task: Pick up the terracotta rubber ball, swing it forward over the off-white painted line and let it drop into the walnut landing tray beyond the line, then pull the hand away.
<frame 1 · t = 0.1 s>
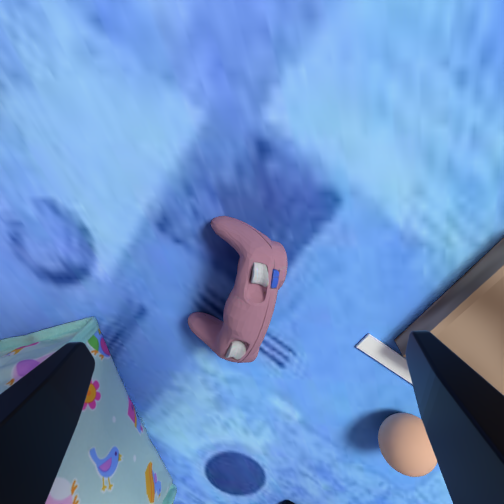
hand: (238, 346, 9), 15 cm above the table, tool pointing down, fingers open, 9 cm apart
video game controller: (238, 276, 26), on the table
lunch bag: (86, 415, 32), on the table
throw line: (436, 389, 27), on the table
ball: (398, 420, 29), on the table
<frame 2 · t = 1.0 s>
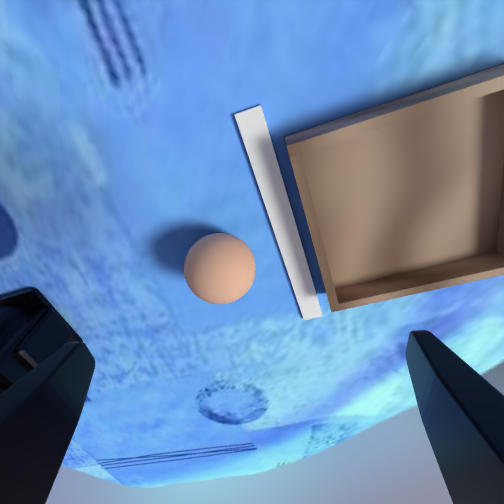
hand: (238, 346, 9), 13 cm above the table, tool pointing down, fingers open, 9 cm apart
landing tray: (403, 200, 20), on the table
throw line: (286, 232, 22), on the table
ball: (223, 249, 22), on the table
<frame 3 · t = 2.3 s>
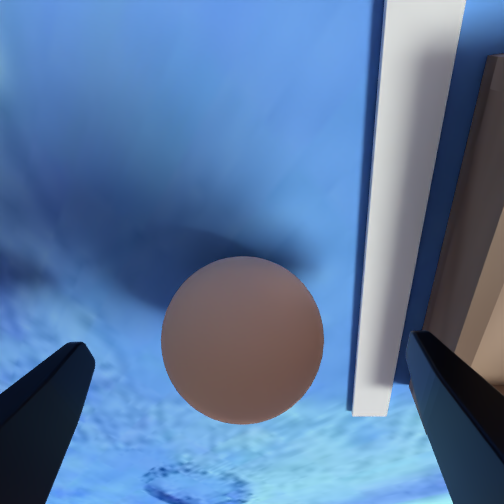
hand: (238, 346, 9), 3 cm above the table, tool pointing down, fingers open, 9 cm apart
throw line: (386, 276, 10), on the table
ball: (249, 283, 11), on the table
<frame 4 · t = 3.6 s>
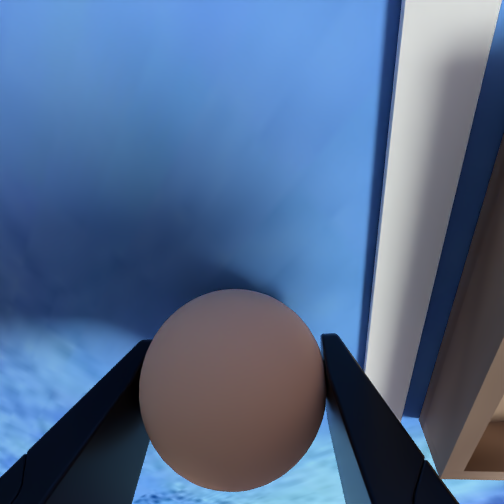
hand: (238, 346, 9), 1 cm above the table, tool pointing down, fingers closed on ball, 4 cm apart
throw line: (396, 308, 9), on the table
ball: (242, 314, 10), on the table, touching gripper
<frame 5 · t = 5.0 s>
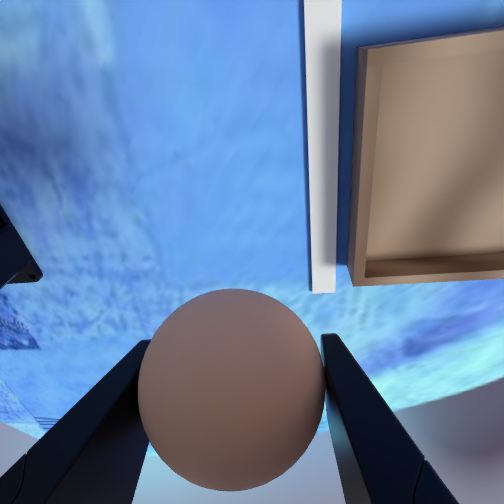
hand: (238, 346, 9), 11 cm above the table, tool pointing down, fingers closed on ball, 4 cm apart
landing tray: (470, 166, 17), on the table
throw line: (323, 180, 18), on the table
ball: (241, 314, 10), point 10 cm above the table, touching gripper
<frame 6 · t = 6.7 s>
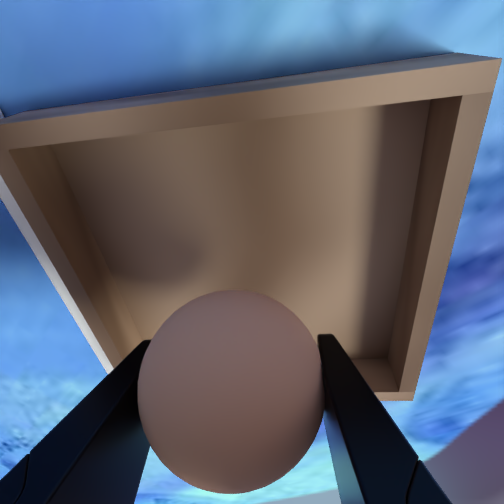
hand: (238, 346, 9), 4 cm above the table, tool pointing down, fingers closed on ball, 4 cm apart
landing tray: (250, 261, 12), on the table
throw line: (68, 272, 13), on the table
ball: (242, 315, 10), point 3 cm above the table, touching gripper
when the fingers open (4 cm above the table, at t = 7.0 s): ball drops 2 cm, resting on landing tray.
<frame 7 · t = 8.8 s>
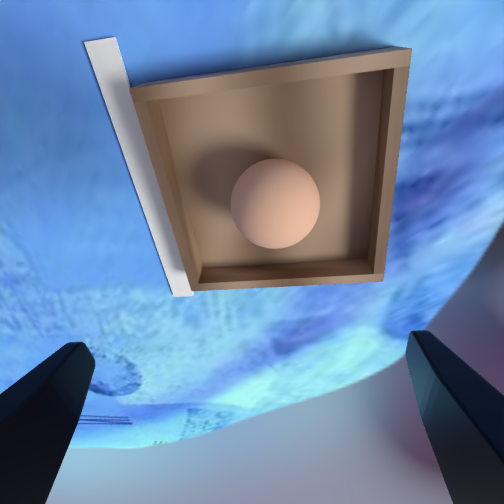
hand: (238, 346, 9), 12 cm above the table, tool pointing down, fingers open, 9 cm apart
landing tray: (275, 184, 19), on the table
throw line: (152, 195, 20), on the table
ball: (274, 186, 18), resting on landing tray
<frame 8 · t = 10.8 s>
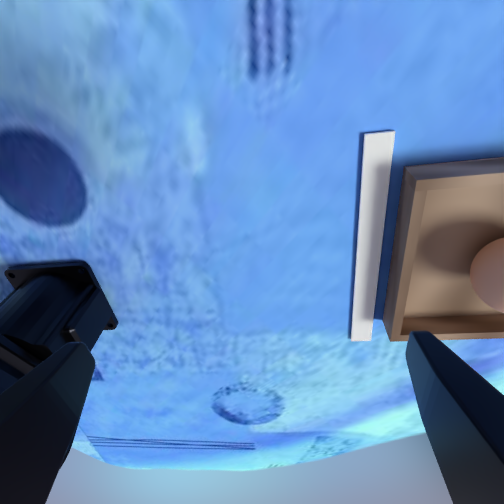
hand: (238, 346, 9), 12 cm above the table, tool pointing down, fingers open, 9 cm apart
landing tray: (491, 249, 20), on the table
throw line: (367, 257, 21), on the table
ball: (494, 252, 20), resting on landing tray
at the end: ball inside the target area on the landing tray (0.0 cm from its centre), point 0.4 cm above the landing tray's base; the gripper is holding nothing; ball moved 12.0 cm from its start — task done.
